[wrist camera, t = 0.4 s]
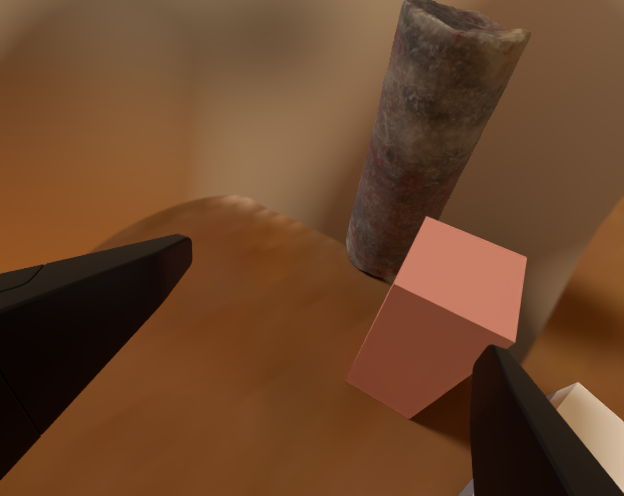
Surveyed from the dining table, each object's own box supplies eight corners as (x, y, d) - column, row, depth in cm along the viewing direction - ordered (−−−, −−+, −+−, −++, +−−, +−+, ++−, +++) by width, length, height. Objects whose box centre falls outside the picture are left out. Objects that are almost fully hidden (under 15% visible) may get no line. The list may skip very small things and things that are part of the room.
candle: (346, 218, 35) (399, -15, 19) (412, 227, 34) (519, 1, 19) (342, 274, 30) (409, 20, 14) (419, 285, 29) (570, 42, 14)
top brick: (408, 419, 22) (515, 342, 12) (345, 381, 23) (393, 283, 13) (428, 358, 25) (526, 257, 15) (370, 327, 26) (426, 215, 16)
